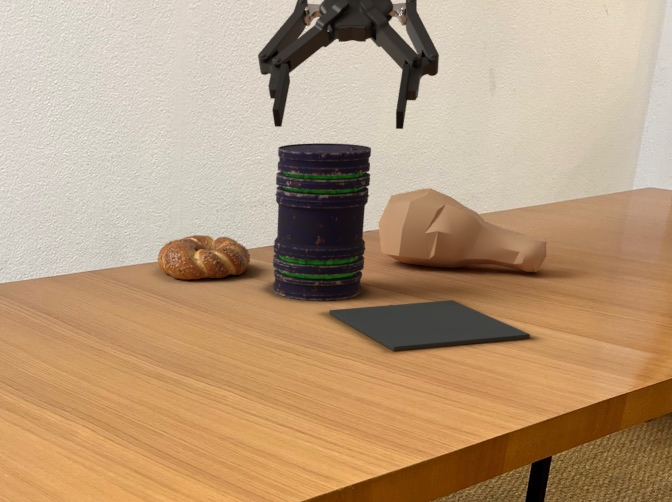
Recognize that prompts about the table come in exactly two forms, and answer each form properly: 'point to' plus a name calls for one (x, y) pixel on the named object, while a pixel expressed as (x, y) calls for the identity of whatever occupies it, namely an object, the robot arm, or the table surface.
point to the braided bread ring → (203, 257)
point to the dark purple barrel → (320, 220)
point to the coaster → (427, 325)
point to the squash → (451, 235)
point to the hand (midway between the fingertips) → (337, 119)
